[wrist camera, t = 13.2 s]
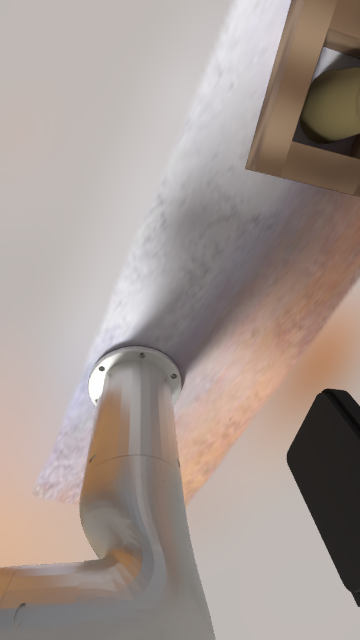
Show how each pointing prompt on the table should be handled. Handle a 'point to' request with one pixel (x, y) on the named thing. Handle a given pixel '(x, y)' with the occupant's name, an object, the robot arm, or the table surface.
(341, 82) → the cork
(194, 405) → the table surface
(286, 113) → the socket block
